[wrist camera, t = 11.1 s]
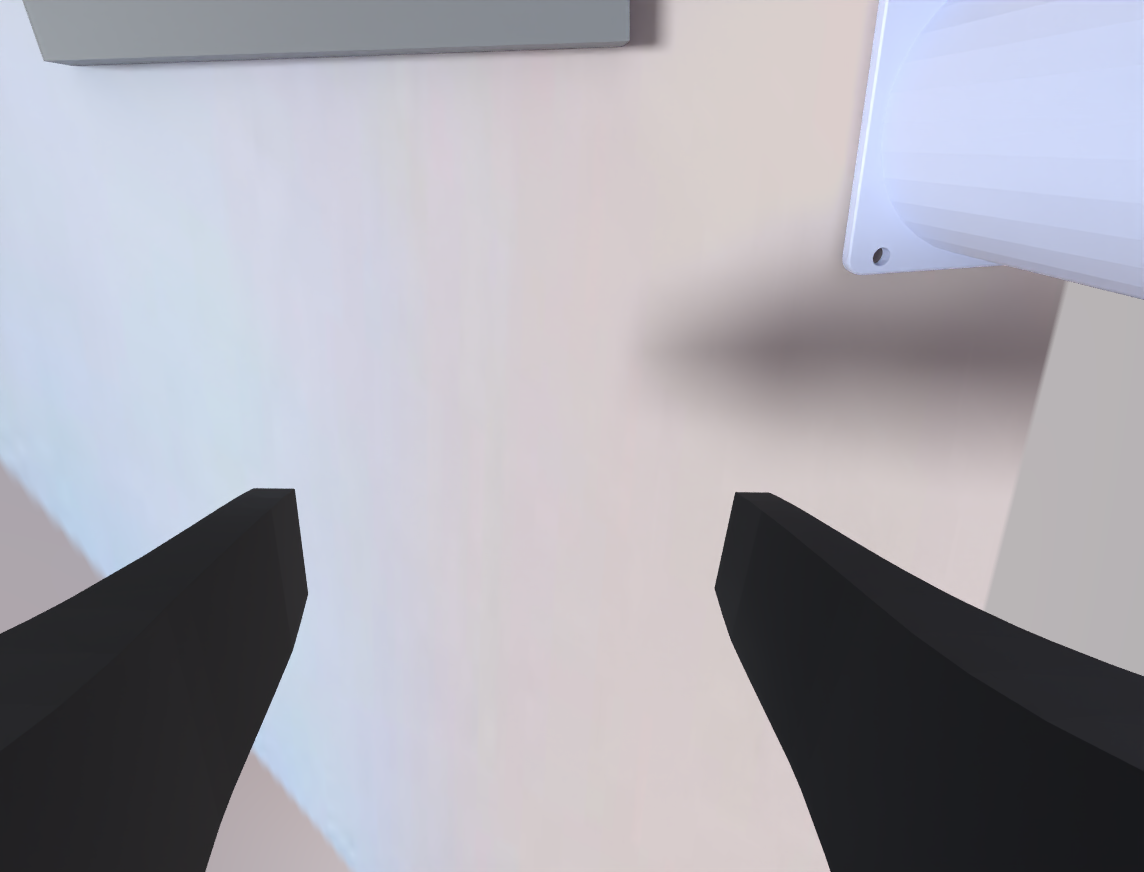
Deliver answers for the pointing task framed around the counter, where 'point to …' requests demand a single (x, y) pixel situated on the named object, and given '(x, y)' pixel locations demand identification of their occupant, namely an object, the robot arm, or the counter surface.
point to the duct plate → (314, 28)
